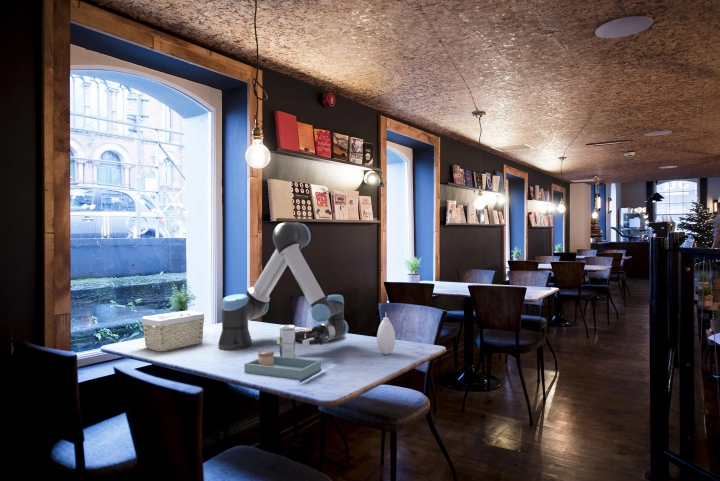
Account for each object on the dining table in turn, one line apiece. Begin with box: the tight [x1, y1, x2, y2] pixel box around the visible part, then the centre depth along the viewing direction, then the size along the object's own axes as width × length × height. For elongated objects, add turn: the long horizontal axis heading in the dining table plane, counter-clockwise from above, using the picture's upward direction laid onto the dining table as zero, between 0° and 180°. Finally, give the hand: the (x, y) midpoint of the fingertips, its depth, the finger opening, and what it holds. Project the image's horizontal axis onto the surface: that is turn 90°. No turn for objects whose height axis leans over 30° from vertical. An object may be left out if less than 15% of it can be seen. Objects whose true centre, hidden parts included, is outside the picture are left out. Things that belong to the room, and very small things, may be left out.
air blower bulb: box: [376, 312, 396, 355], centre depth 201 cm, size 8×8×18 cm
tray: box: [243, 355, 322, 383], centre depth 173 cm, size 24×14×4 cm, turn 66°
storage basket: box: [141, 310, 205, 352], centre depth 221 cm, size 24×16×15 cm
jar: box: [257, 350, 275, 367], centre depth 176 cm, size 6×6×6 cm
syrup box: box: [279, 324, 296, 358], centre depth 189 cm, size 6×6×14 cm
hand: (290, 342), depth 189 cm, fingers open, 13 cm apart
